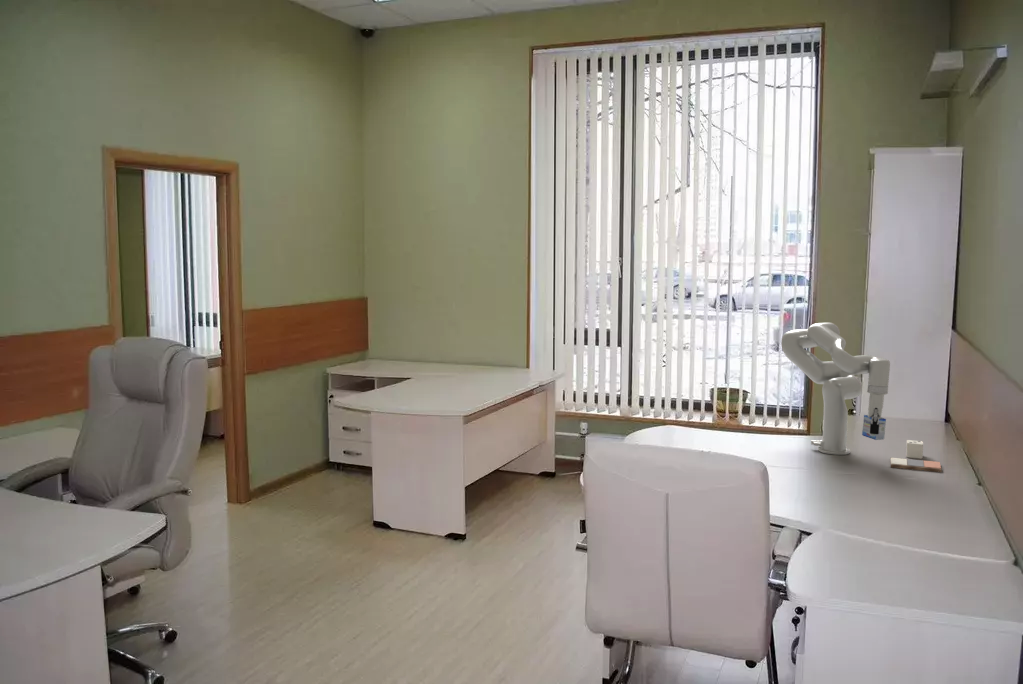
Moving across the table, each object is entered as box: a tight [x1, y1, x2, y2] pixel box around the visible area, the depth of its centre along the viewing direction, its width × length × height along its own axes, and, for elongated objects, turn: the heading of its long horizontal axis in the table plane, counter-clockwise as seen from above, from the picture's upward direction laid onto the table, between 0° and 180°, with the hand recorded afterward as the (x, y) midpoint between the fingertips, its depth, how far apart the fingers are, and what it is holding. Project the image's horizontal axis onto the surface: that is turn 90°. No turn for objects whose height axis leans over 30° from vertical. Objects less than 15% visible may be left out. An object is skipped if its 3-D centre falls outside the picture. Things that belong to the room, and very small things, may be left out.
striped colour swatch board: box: [890, 457, 942, 473], centre depth 341 cm, size 18×12×1 cm, turn 66°
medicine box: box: [861, 414, 887, 441], centre depth 346 cm, size 8×4×9 cm, turn 19°
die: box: [905, 439, 924, 460], centre depth 357 cm, size 6×6×6 cm
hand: (874, 431), depth 347 cm, fingers closed on medicine box, 8 cm apart
